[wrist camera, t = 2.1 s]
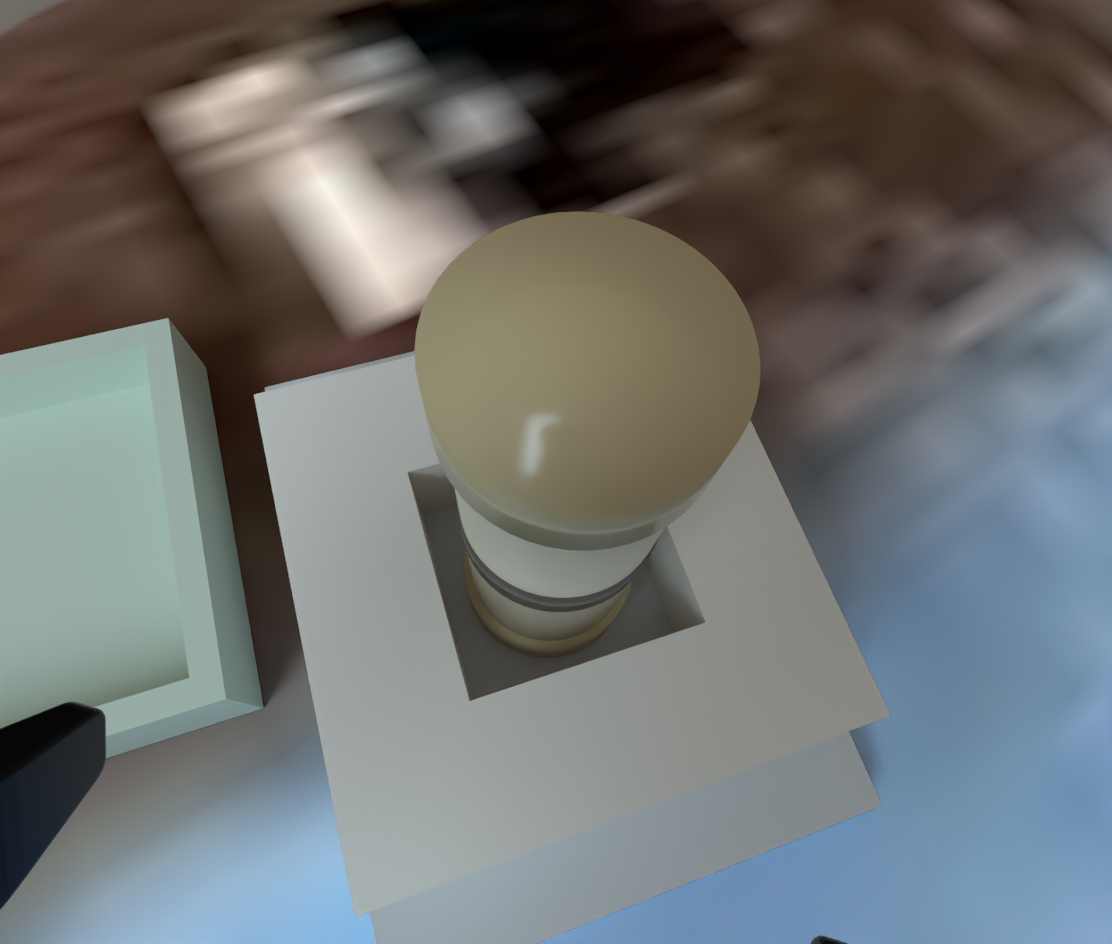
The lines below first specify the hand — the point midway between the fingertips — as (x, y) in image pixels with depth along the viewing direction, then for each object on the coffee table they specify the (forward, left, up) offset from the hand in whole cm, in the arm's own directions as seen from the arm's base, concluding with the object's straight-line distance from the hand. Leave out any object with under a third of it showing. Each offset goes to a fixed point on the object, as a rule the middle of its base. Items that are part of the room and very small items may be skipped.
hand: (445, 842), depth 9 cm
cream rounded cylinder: (+5, -4, -12) cm, 13 cm away
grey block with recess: (+5, -4, -13) cm, 14 cm away
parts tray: (+10, +11, -13) cm, 20 cm away
